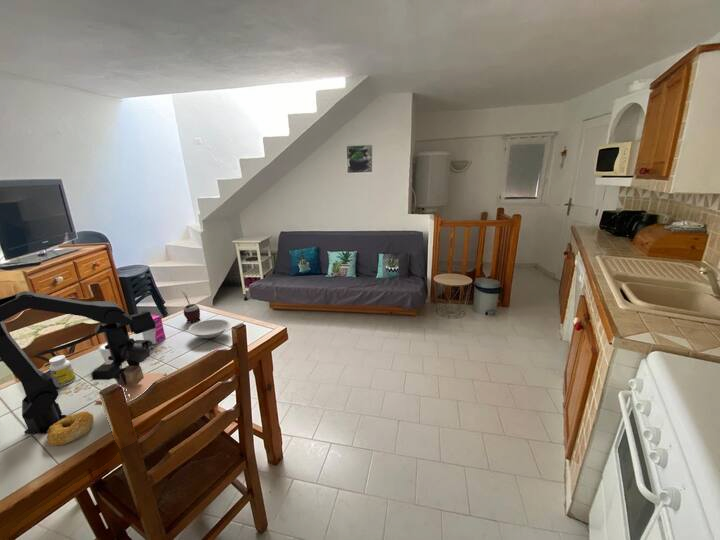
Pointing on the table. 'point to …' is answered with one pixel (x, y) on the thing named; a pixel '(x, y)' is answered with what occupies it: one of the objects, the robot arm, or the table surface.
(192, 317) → the mate gourd
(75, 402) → the table surface
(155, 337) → the supplement box
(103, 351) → the white cup
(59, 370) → the supplement bottle
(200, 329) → the dish
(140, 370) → the walnut cube
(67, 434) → the bagel
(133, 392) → the tile mat
